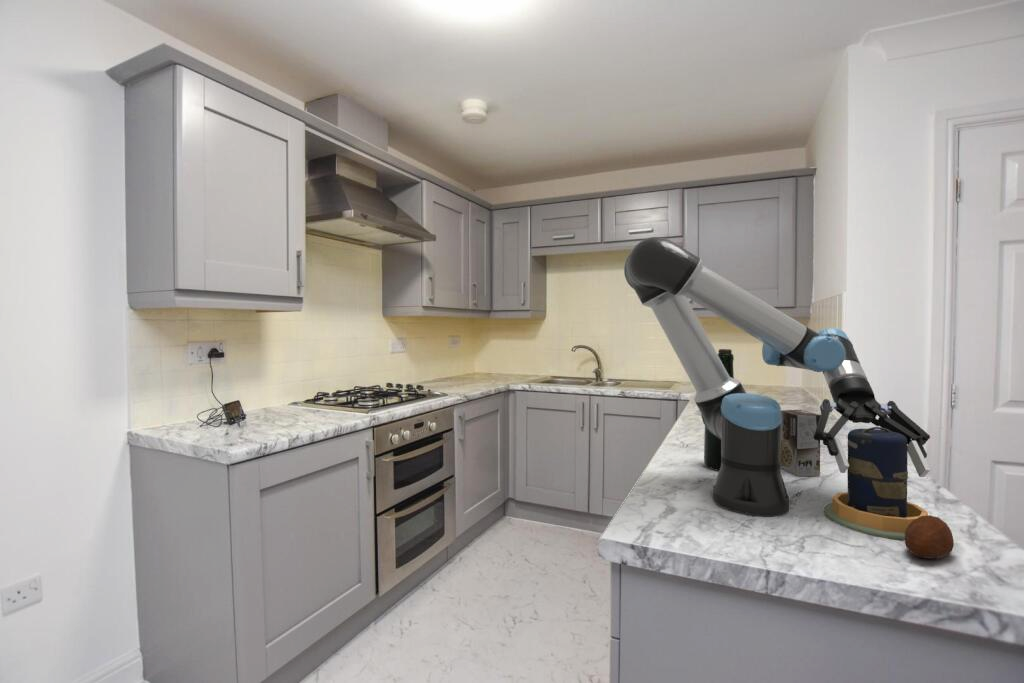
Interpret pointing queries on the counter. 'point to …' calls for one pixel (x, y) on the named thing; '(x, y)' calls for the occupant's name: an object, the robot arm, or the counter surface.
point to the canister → (877, 471)
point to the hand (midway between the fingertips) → (884, 471)
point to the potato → (929, 537)
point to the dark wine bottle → (710, 441)
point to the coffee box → (800, 443)
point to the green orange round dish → (871, 518)
